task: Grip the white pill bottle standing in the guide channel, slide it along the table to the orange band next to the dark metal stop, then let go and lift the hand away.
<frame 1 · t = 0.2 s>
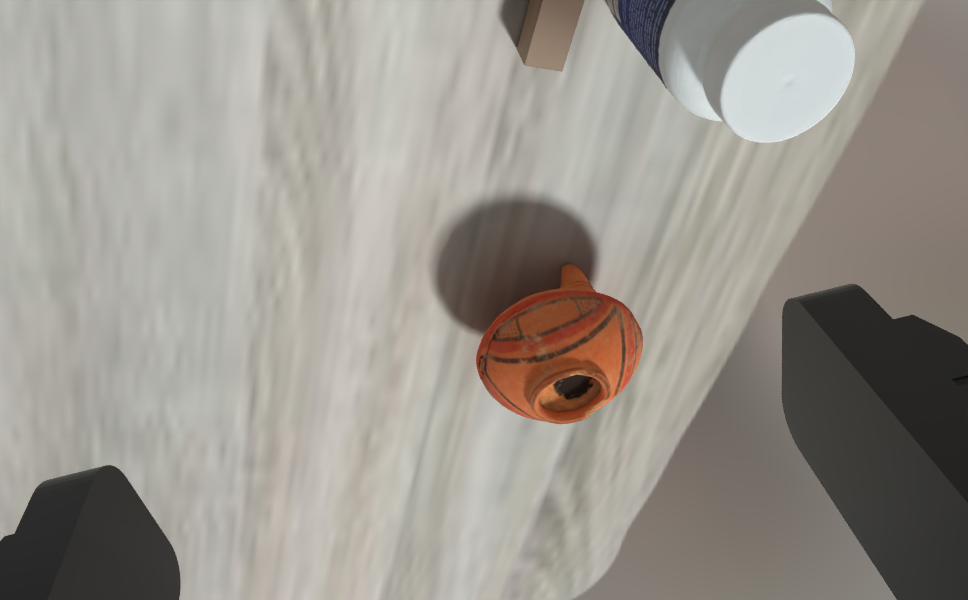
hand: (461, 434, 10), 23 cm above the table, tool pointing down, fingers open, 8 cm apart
pot: (543, 307, 40), on the table
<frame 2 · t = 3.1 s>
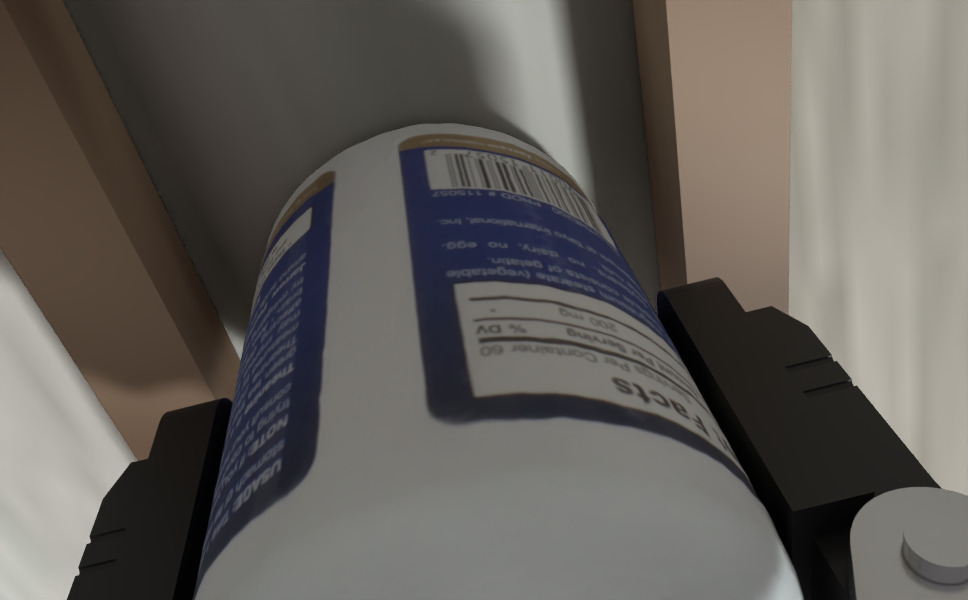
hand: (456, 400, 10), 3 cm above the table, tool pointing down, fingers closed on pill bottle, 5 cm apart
pill bottle: (438, 270, 13), on the table, touching gripper
when the fingers open (3 cm above the table, at t = 7.1 s): pill bottle stays where it is, on the table.
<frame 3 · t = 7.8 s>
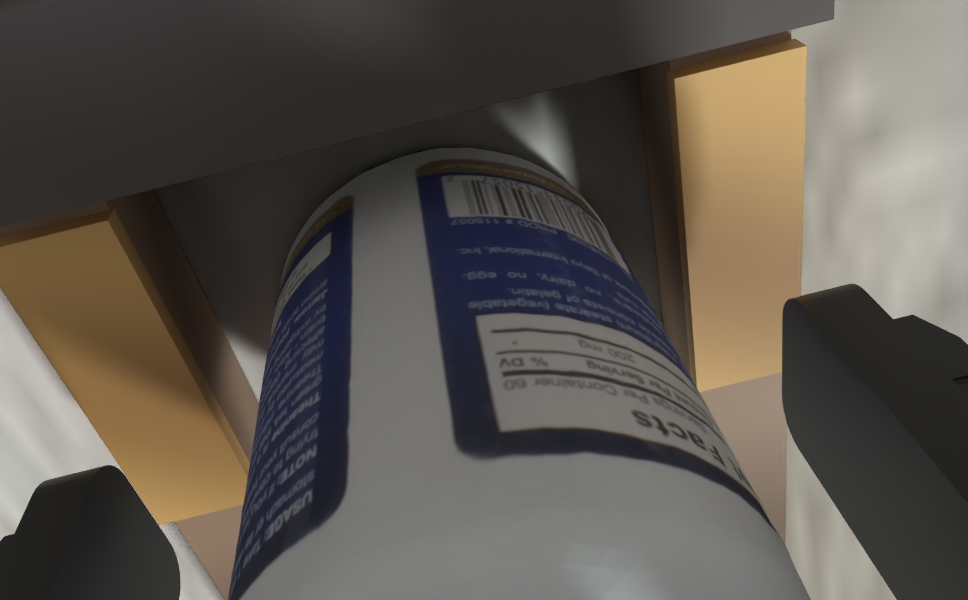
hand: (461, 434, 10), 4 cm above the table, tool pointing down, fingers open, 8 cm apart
guide channel: (504, 507, 16), on the table
pill bottle: (451, 288, 13), on the table
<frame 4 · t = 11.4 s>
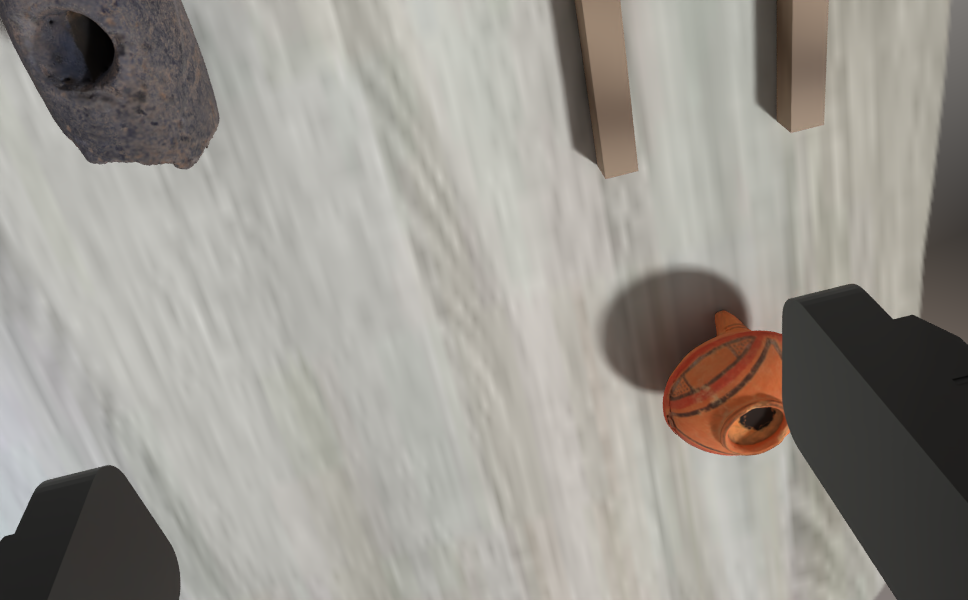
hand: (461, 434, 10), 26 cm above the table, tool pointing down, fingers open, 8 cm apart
pot: (713, 353, 44), on the table
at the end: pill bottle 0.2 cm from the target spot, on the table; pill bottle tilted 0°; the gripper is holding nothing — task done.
